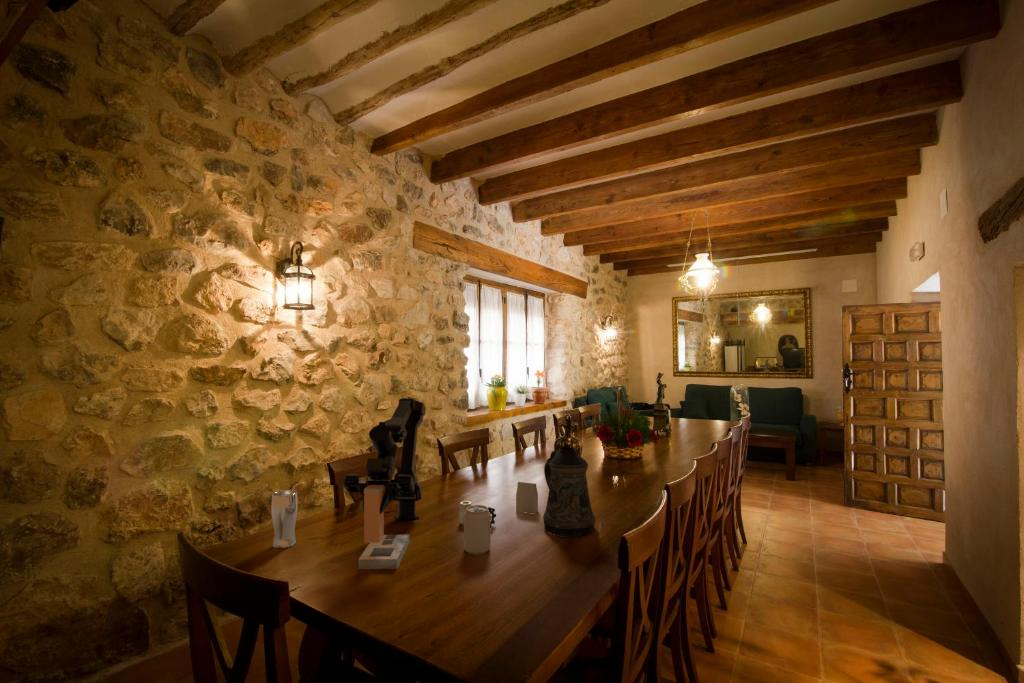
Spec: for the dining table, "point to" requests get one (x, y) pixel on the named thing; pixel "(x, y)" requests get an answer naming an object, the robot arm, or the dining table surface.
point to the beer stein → (567, 495)
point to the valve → (466, 504)
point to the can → (477, 529)
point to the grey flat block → (384, 553)
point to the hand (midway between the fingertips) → (372, 512)
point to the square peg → (373, 513)
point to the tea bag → (527, 497)
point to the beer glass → (284, 517)
